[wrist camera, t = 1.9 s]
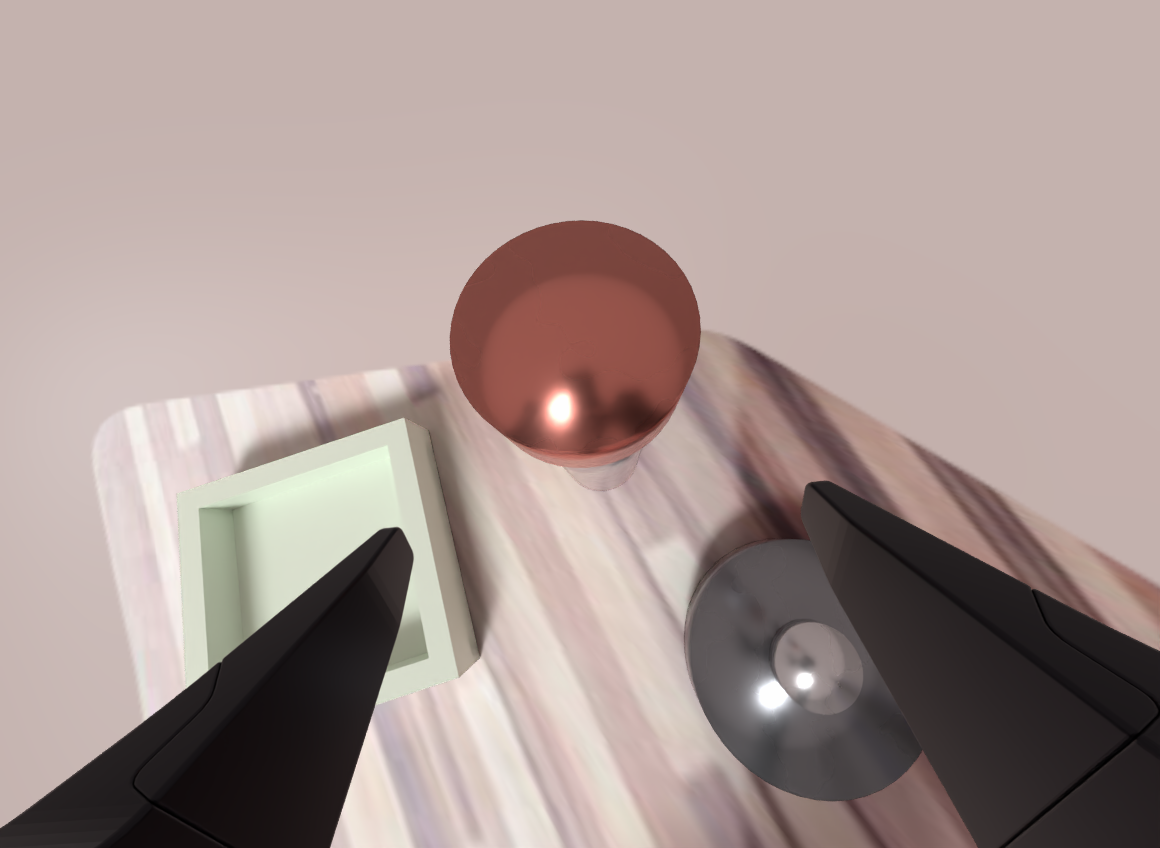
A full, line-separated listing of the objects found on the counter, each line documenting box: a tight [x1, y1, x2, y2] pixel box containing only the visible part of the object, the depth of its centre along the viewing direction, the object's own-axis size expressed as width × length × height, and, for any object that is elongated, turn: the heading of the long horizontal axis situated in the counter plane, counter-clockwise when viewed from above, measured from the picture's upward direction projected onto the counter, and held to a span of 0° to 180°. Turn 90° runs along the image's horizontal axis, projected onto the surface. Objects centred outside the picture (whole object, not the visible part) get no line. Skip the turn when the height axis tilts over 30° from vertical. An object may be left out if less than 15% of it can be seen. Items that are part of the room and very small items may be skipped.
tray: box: [177, 418, 480, 705], centre depth 19 cm, size 11×11×2 cm
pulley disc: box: [684, 539, 922, 801], centre depth 16 cm, size 9×9×2 cm
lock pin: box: [450, 221, 701, 491], centre depth 14 cm, size 5×5×13 cm
